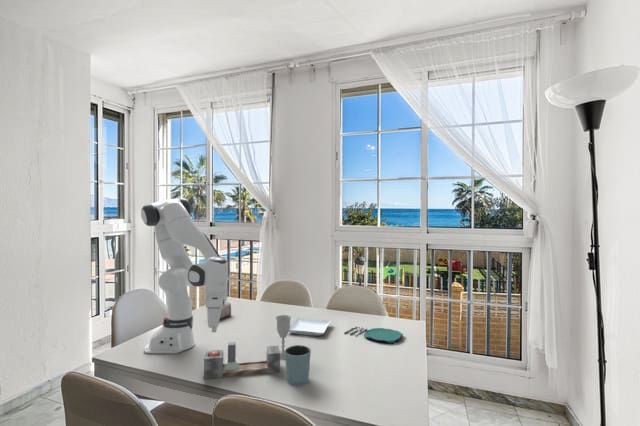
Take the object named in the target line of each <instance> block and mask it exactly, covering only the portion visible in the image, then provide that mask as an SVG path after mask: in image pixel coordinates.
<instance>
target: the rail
mask: <svg viewBox="0 0 640 426" xmlns="http://www.w3.org/2000/svg"><path fill="white" fill-rule="evenodd" d="M212 351H218V352H219V356H212V357H209V353H210V352H212ZM280 351H281V350H280V347H279V345H271V346H270V345H268V346H266V360H259V361H258V360H257V361H246V362H245V361H244V362H238V370H232V371H225V363H224V349H214V350H205V354H204V359H203V380H209V379H210V380H211V379H212V380H213V379H220V378H226V377H227V378H228V377H239V376H248V375H250V376H251V375H259V374H275V373H276V374H277V373H279V374H280V373H281V359H280Z"/></svg>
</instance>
